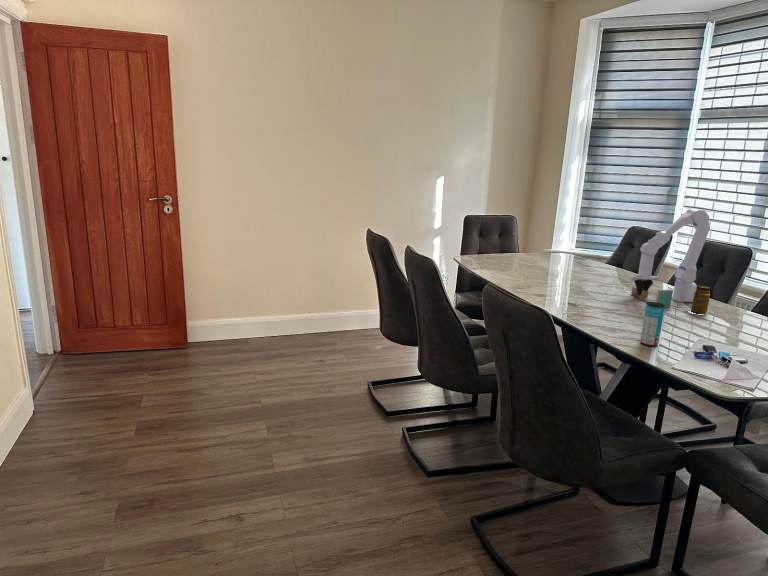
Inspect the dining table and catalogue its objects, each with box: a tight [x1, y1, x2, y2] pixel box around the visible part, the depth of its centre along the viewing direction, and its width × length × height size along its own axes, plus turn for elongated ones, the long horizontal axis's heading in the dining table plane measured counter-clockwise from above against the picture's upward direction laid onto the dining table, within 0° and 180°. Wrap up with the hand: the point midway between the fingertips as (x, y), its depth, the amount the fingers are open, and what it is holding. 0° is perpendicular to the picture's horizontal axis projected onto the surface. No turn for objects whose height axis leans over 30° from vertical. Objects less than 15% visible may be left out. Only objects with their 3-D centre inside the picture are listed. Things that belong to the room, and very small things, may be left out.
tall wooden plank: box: [631, 285, 656, 303], centre depth 257 cm, size 17×6×4 cm, turn 7°
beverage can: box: [639, 302, 666, 348], centre depth 188 cm, size 6×6×15 cm
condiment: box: [684, 285, 711, 316], centre depth 234 cm, size 7×8×12 cm
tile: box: [655, 289, 674, 308], centre depth 242 cm, size 7×1×8 cm, turn 97°
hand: (641, 294), depth 259 cm, fingers closed on tall wooden plank, 2 cm apart
